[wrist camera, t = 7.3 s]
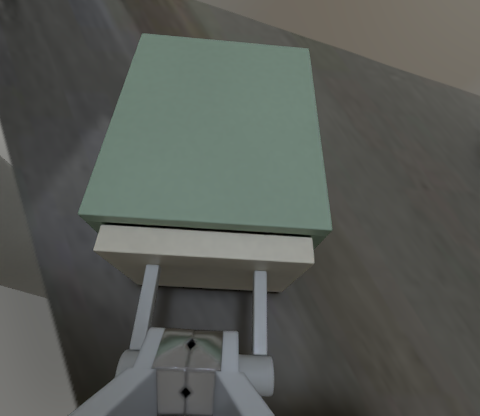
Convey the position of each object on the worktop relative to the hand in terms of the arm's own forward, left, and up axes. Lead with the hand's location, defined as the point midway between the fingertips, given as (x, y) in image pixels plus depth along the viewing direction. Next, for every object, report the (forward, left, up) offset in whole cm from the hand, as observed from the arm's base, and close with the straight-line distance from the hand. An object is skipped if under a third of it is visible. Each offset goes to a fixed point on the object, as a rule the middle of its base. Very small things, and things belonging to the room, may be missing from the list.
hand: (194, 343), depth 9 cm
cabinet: (0, +11, -8) cm, 13 cm away
